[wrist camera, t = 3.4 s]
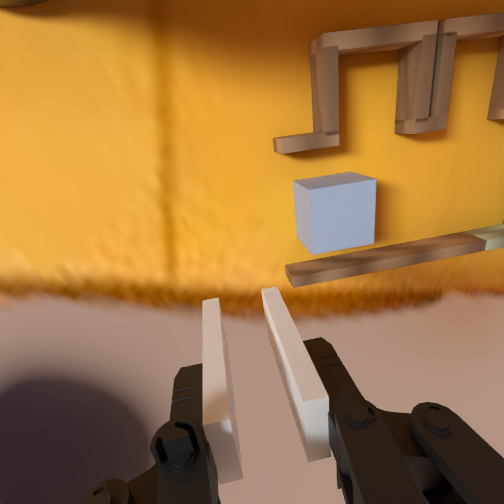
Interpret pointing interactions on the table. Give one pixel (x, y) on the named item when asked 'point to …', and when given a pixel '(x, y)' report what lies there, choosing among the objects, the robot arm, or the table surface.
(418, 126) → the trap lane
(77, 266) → the table surface
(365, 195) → the block
